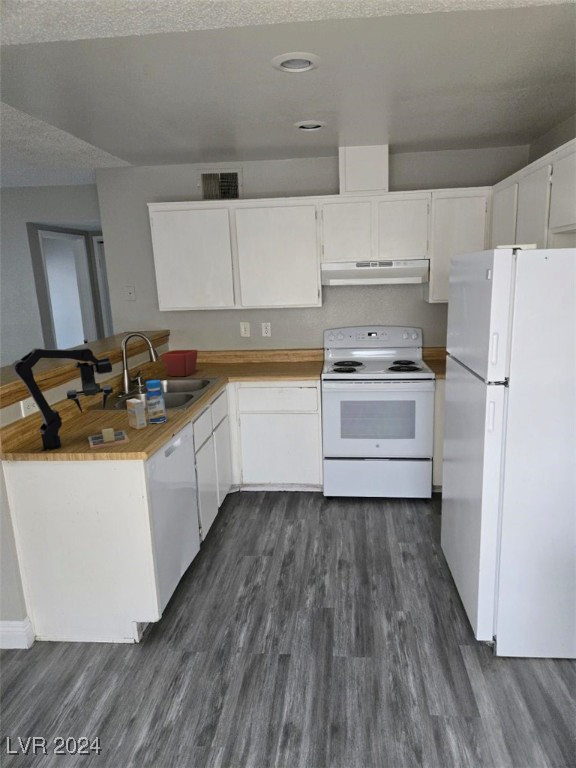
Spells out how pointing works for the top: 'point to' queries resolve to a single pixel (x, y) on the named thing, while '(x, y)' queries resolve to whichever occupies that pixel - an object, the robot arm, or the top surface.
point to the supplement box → (136, 413)
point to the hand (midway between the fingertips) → (92, 410)
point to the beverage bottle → (155, 402)
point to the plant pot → (180, 362)
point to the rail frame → (108, 443)
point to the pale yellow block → (108, 435)
